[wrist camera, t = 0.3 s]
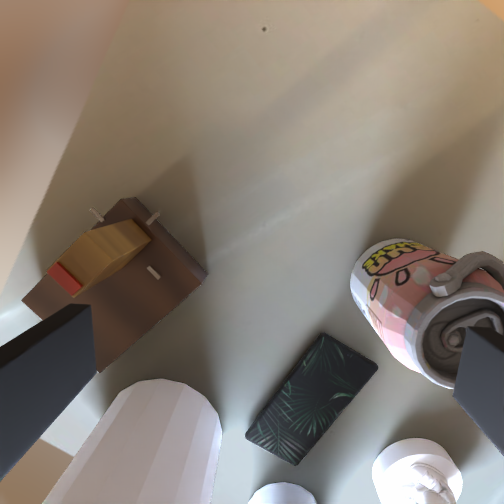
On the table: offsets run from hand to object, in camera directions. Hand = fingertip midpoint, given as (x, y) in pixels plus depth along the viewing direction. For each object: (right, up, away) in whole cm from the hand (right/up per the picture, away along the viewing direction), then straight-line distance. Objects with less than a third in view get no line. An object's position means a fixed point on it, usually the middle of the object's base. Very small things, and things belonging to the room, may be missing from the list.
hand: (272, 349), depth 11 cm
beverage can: (+13, +1, +19) cm, 23 cm away
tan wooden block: (-12, +4, +16) cm, 20 cm away
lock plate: (-14, 0, +20) cm, 24 cm away
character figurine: (+17, -21, +24) cm, 36 cm away
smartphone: (+5, -12, +22) cm, 26 cm away
